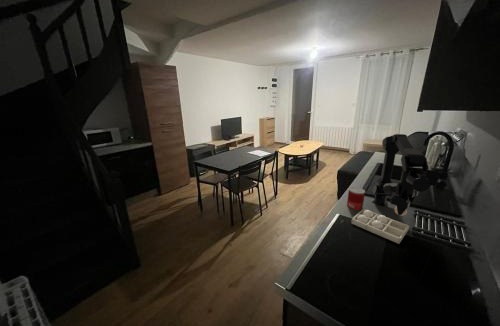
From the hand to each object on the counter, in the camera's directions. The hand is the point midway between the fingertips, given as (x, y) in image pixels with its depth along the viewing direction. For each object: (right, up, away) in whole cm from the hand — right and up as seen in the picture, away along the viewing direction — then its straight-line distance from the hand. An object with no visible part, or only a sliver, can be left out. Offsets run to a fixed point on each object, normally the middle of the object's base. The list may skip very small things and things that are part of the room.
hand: (401, 212), depth 93 cm
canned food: (-9, -3, +24) cm, 26 cm away
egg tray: (-7, -9, +6) cm, 12 cm away
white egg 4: (-4, -7, +8) cm, 11 cm away
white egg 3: (-9, -9, +4) cm, 13 cm away
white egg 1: (-13, -7, +8) cm, 18 cm away
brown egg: (0, -1, +1) cm, 1 cm away
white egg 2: (-8, -6, +12) cm, 16 cm away
